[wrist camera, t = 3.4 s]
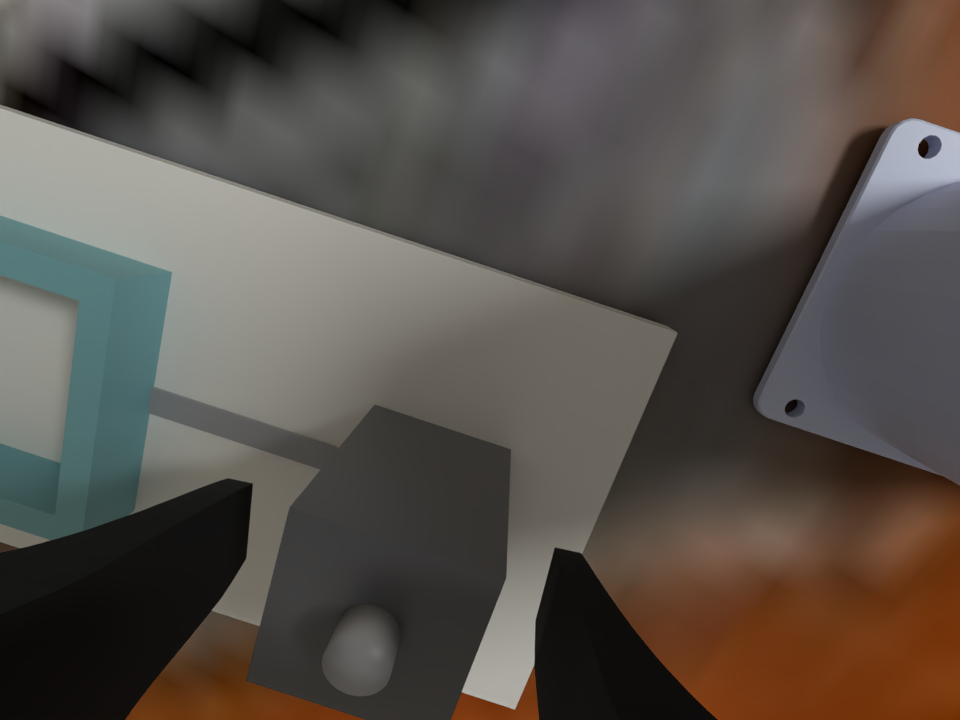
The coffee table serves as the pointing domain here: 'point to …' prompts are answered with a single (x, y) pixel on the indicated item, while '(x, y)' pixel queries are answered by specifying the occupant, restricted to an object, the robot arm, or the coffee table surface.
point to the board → (282, 363)
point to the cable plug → (388, 572)
